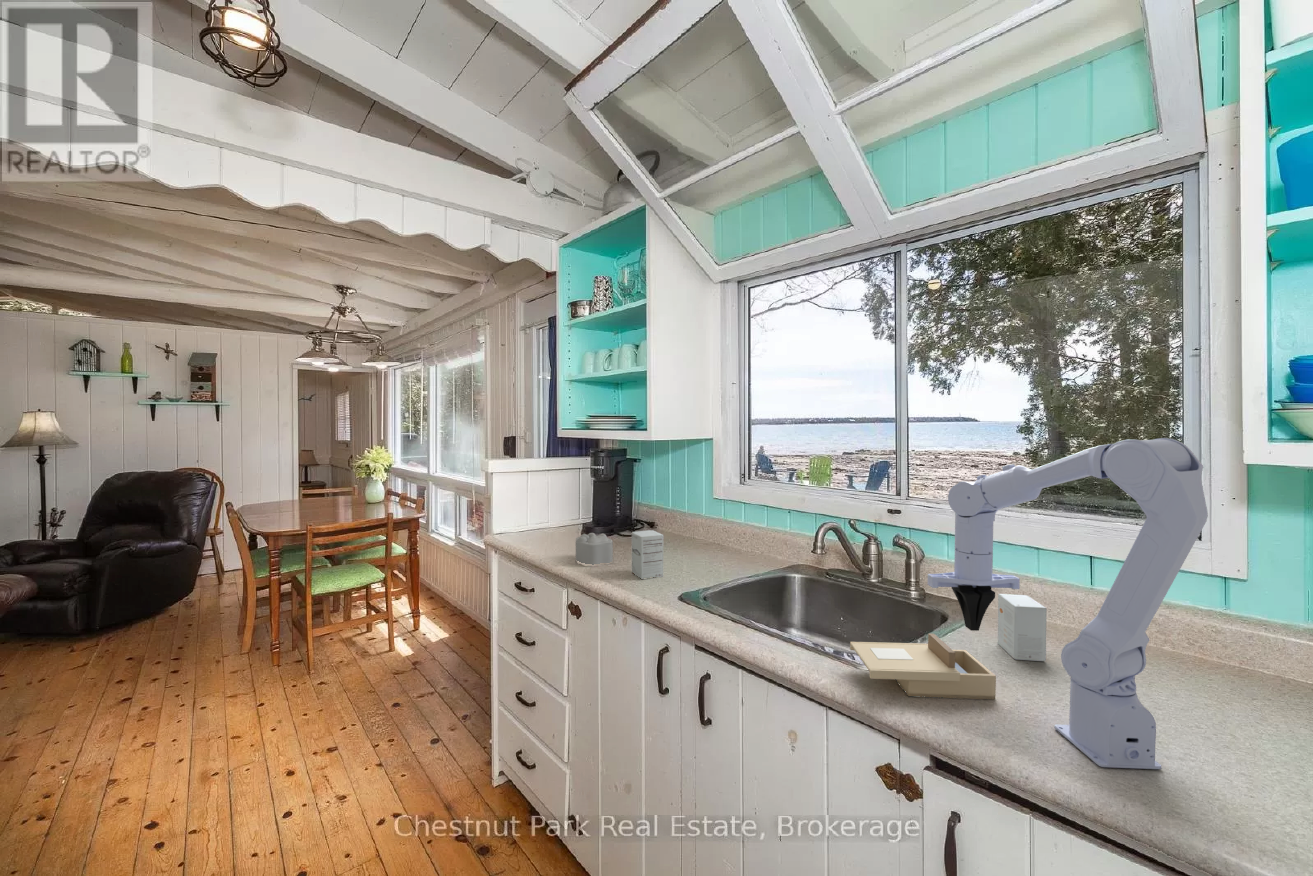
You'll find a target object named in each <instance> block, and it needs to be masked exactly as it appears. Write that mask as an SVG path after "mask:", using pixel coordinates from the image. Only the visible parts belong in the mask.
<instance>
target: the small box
mask: <svg viewBox="0 0 1313 876" xmlns="http://www.w3.org/2000/svg"><path fill="white" fill-rule="evenodd" d="M997 600H998V601H997V644H998V645H999V646H1000V647H1001V648H1002V649H1003V650H1004V651H1005V652H1006V653H1007V654H1008V655H1009V656H1010V657H1012V659H1014V660H1016V661H1017V660H1018V661H1035V662H1047V609H1048V608H1047V607H1046V606H1045V605H1043V604H1041V603H1040V602H1038V601H1037V600H1035V599H1034V598H1032V597H1031V596H1029V595H1028V594H1012V593H1011V594H1009V593H998V595H997Z"/></svg>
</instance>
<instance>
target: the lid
mask: <svg viewBox="0 0 1313 876" xmlns="http://www.w3.org/2000/svg"><path fill="white" fill-rule="evenodd" d="M927 635H928V636H927V639H928V640H927V642H928V643H922V642H921V643H919V642H918V643H915V642H913V643H912V642H882V641H881V642H880V641H879V642H876V641H875V642H874V641H849V642H850V643H849V650H850V651H854V652H855V653H856V654H857V656H858V657H859V659H860V660H861V662H862V663H863V665H865V667H866V669H867V670H868V671H869V679H870V680H872V679H874V680H895V679H902V680H937V681H960V672H958V670H957V669H956V668H955V652H954V651H953V650H954V649H953V648H950V646H949V645H948V644H947V643H945V641H943V640H942V639H941V638H940V637H939V636H938V635H937V634H935V633H928V634H927Z"/></svg>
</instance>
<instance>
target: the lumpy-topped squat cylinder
mask: <svg viewBox="0 0 1313 876" xmlns="http://www.w3.org/2000/svg"><path fill="white" fill-rule="evenodd" d="M613 547H614V546H613V540H612V538H610V537H607V535H606V533H600V534H597V535H596V533H594V532H589V533H588V534H586V533H583V534H581V535H580V536H578V537H576V538H575V561H576V560H577V561H579V562H581V563H585V564H592V565H594V564H600V563H610V562H612V561H613V560H614V559H613V558H614V557H613V556H614V555H613V553H614V552H613V551H614V549H613Z"/></svg>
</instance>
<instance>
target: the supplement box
mask: <svg viewBox="0 0 1313 876" xmlns="http://www.w3.org/2000/svg"><path fill="white" fill-rule="evenodd" d="M632 572H633V573H634V574H635V575H634V574H633V575H634V576H636V575H637V576H638V577H637V576H636V577H637V578H639V577H640V578H641V579H644V578H650V577H659V578H662V577H664V534H662V533H660V532H657V531H656V530H653V529H648V530H639V531H632V532H631V573H632ZM640 578H639V579H640ZM641 579H640V580H641ZM644 580H645V579H644Z"/></svg>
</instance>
